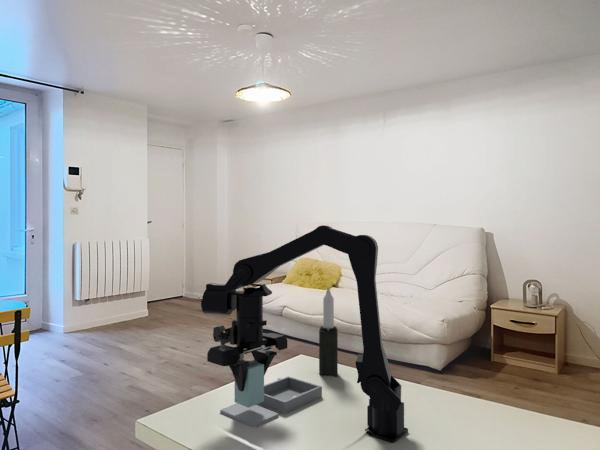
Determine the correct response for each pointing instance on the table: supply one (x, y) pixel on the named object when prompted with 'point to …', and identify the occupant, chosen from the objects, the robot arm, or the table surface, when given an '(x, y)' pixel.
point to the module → (252, 385)
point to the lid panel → (249, 414)
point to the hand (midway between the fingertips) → (249, 387)
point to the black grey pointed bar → (328, 339)
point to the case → (289, 394)
